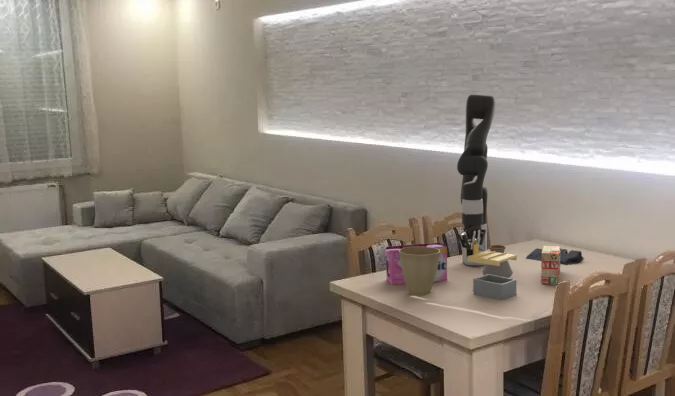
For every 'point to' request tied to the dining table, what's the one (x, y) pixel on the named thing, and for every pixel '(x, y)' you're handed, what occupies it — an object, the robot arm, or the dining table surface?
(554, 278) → the stack of blocks
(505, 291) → the tub
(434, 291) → the dining table surface
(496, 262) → the lid
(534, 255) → the dark crumpled cloth
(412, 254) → the plant pot
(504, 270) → the coffee pot
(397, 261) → the gum box
